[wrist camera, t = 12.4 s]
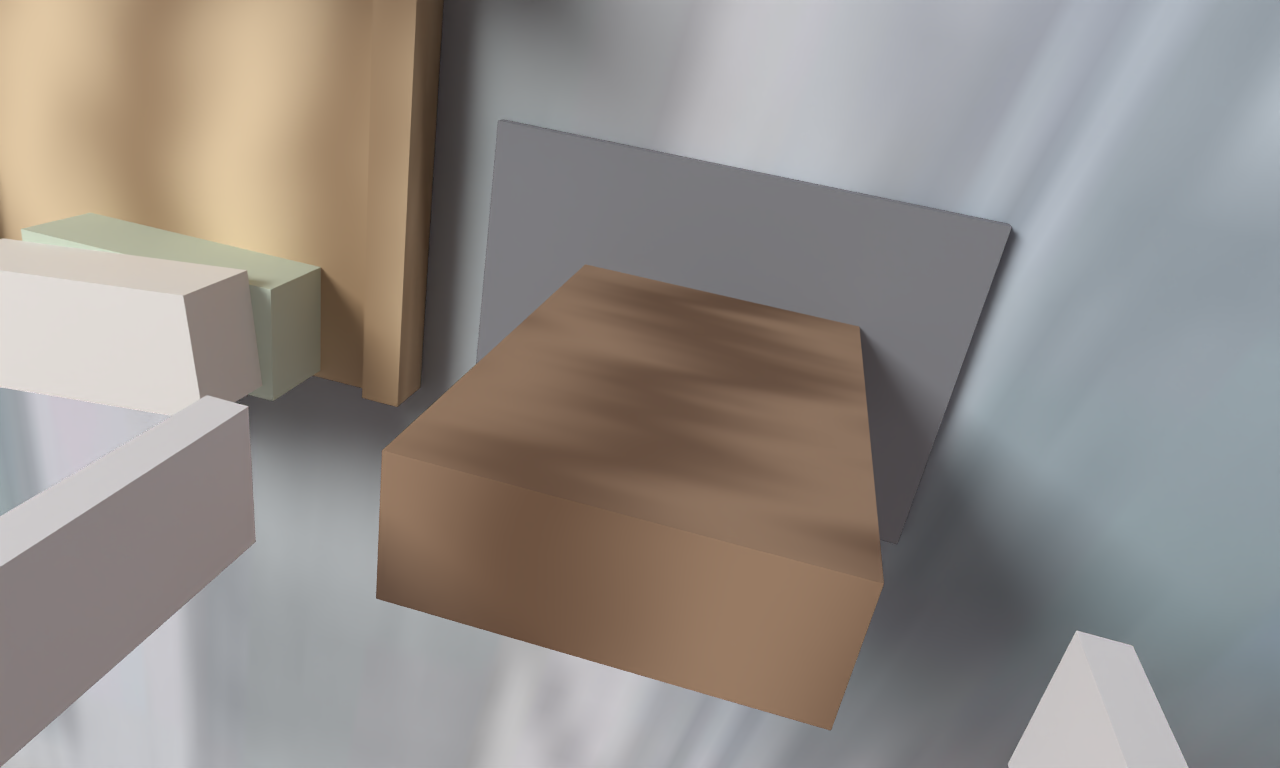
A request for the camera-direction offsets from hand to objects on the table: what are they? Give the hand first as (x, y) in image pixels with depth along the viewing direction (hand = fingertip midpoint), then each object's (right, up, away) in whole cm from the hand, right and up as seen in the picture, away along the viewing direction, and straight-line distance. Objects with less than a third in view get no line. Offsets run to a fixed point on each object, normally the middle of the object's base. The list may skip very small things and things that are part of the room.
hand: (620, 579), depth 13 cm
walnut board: (+2, +4, +11) cm, 12 cm away
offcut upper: (-15, +5, +11) cm, 19 cm away
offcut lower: (-14, +6, +13) cm, 20 cm away
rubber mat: (+2, +4, +11) cm, 13 cm away
